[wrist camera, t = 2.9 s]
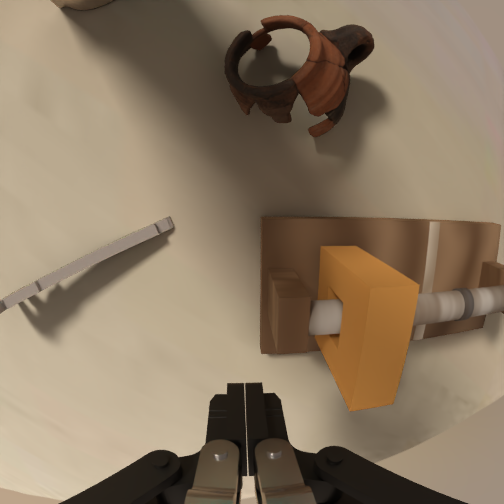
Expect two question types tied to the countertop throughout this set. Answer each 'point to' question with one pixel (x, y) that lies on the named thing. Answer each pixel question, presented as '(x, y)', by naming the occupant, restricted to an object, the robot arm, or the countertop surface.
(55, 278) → the caliper
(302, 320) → the pipe stand
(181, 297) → the countertop surface
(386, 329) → the collar
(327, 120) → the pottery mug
